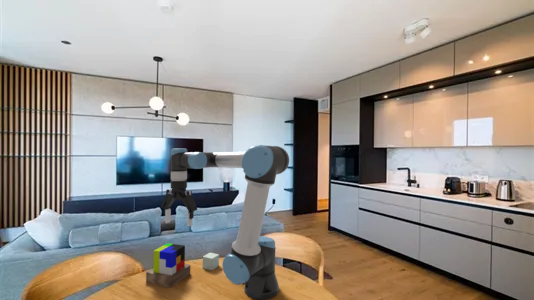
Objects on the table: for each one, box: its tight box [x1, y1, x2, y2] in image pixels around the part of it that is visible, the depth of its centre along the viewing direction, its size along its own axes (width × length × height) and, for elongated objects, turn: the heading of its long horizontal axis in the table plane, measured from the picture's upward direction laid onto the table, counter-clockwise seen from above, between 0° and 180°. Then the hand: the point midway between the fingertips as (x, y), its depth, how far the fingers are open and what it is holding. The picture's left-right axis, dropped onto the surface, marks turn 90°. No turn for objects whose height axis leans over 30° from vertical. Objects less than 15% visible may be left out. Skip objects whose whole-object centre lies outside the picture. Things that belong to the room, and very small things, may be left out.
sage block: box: [202, 252, 220, 271], centre depth 134 cm, size 6×6×6 cm
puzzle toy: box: [152, 243, 186, 275], centre depth 121 cm, size 10×10×10 cm
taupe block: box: [145, 263, 191, 289], centre depth 122 cm, size 14×14×5 cm
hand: (178, 224), depth 122 cm, fingers open, 13 cm apart
